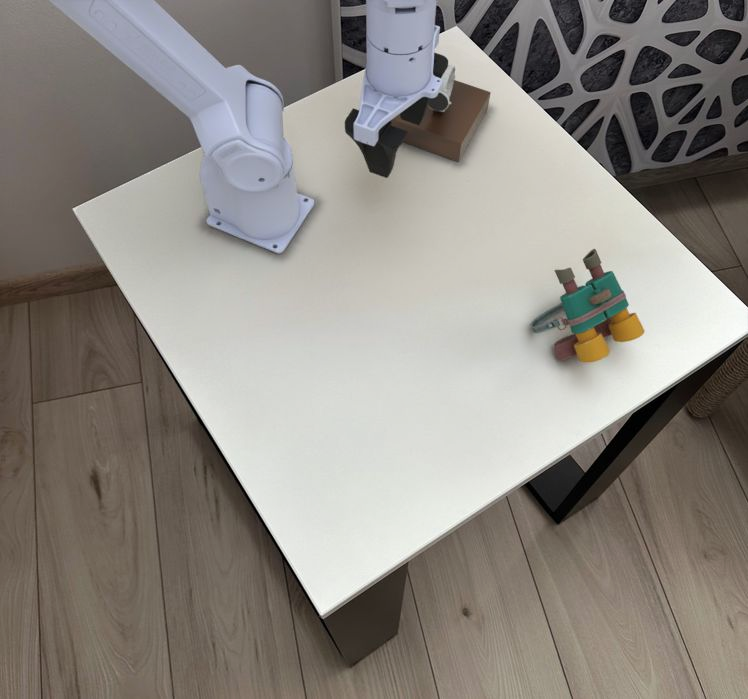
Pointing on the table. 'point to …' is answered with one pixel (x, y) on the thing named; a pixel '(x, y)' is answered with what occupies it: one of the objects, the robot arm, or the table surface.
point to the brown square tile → (449, 123)
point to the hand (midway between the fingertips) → (395, 145)
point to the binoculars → (591, 314)
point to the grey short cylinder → (444, 91)
